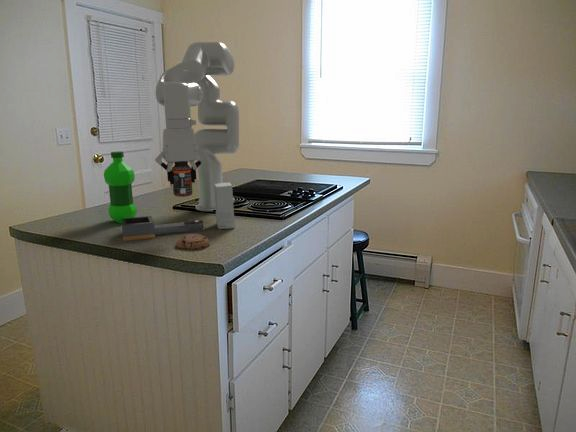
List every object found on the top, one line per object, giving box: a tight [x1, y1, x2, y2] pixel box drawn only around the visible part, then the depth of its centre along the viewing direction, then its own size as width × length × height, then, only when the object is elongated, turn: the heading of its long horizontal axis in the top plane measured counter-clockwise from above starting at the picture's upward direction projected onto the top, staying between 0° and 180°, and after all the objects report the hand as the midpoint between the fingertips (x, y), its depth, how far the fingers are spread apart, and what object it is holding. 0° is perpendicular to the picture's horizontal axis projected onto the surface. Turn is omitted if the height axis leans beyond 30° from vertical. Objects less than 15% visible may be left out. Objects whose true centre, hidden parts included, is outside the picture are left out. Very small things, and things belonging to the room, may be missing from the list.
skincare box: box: [214, 182, 236, 230], centre depth 159 cm, size 8×6×15 cm
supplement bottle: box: [171, 161, 193, 198], centre depth 144 cm, size 6×6×11 cm
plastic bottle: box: [103, 151, 137, 224], centre depth 165 cm, size 10×10×25 cm
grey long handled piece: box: [121, 215, 204, 242], centre depth 152 cm, size 26×10×5 cm, turn 111°
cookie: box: [175, 233, 210, 251], centre depth 140 cm, size 10×11×3 cm
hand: (182, 182), depth 145 cm, fingers closed on supplement bottle, 6 cm apart
